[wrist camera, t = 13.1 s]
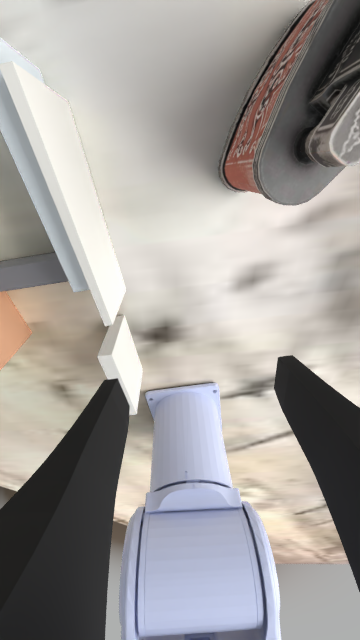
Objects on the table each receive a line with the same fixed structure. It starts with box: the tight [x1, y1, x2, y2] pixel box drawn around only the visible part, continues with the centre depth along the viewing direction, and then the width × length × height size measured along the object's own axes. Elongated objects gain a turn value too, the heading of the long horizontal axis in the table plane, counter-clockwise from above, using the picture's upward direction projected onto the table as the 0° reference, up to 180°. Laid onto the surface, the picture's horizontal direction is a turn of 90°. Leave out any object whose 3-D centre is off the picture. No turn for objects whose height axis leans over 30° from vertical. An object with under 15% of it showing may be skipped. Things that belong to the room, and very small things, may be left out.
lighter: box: [218, 0, 360, 205], centre depth 8 cm, size 8×3×10 cm, turn 151°
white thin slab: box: [0, 61, 143, 415], centre depth 15 cm, size 20×2×5 cm, turn 8°
